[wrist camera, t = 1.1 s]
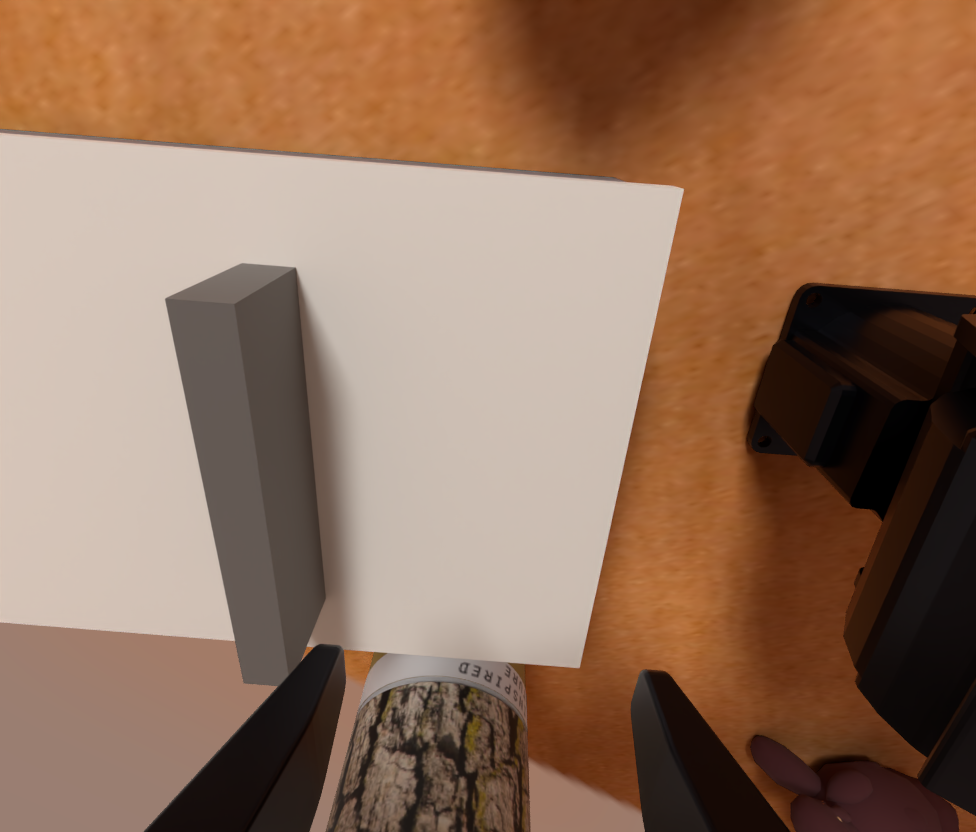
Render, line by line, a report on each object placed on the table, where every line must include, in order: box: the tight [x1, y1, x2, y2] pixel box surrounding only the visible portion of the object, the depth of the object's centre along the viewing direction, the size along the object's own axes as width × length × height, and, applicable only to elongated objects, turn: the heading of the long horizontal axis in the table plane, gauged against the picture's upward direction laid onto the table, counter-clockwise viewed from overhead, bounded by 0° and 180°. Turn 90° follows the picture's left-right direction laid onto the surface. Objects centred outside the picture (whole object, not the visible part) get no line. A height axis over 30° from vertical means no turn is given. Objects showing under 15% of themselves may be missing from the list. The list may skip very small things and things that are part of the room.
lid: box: [0, 133, 684, 686], centre depth 13 cm, size 20×14×4 cm
